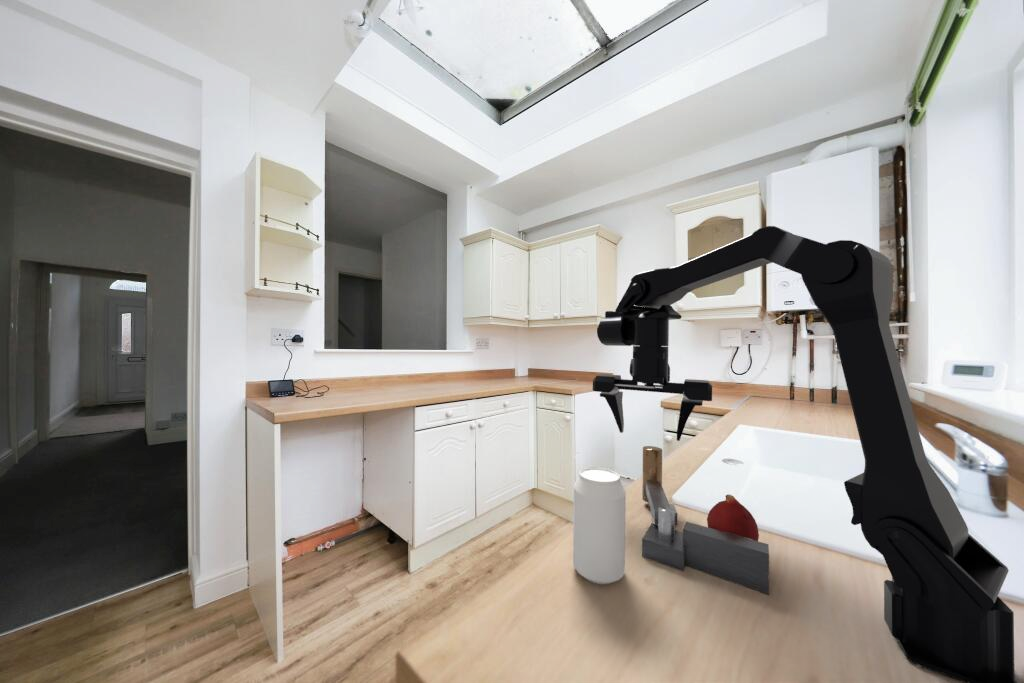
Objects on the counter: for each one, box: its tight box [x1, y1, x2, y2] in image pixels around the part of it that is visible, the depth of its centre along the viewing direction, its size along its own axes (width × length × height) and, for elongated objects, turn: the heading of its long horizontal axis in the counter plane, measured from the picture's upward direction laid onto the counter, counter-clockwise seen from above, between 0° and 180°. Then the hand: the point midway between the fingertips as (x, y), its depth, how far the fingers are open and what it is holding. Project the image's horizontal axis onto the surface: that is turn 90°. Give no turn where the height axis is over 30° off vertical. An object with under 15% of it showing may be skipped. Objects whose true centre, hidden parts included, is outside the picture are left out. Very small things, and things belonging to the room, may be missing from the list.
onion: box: [706, 494, 760, 542], centre depth 46 cm, size 6×6×8 cm
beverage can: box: [572, 467, 627, 585], centre depth 42 cm, size 6×6×12 cm
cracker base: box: [641, 506, 770, 596], centre depth 43 cm, size 14×5×6 cm, turn 54°
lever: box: [641, 445, 678, 527], centre depth 55 cm, size 14×3×9 cm, turn 164°
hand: (648, 436), depth 59 cm, fingers open, 9 cm apart
